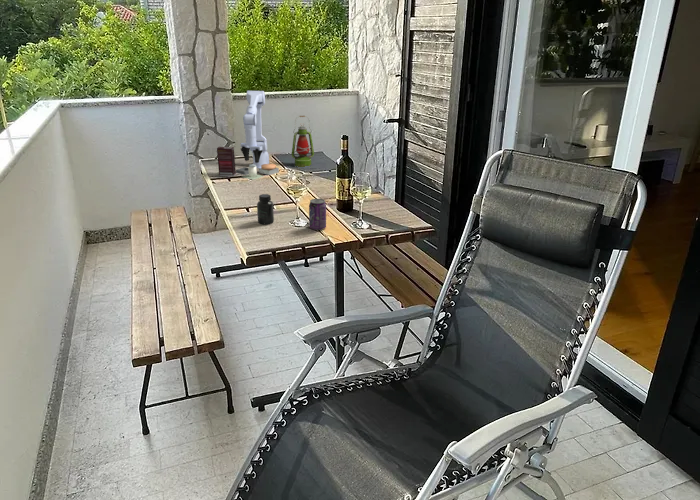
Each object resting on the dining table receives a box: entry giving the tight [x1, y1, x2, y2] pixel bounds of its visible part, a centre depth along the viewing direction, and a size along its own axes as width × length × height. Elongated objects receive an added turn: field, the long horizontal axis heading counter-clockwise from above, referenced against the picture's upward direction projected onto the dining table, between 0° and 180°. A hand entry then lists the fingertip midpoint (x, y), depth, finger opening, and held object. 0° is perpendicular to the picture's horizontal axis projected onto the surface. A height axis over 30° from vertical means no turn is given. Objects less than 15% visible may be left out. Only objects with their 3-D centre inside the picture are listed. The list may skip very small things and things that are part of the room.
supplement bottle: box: [256, 193, 275, 226], centre depth 226 cm, size 7×7×12 cm
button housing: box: [258, 167, 280, 176], centre depth 304 cm, size 8×8×3 cm
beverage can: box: [308, 198, 327, 231], centre depth 221 cm, size 7×7×12 cm
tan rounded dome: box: [261, 163, 277, 169], centre depth 303 cm, size 8×8×4 cm
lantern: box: [291, 115, 315, 167], centre depth 316 cm, size 14×11×30 cm
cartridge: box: [247, 163, 258, 177], centre depth 294 cm, size 4×4×6 cm
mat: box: [241, 174, 265, 181], centre depth 296 cm, size 9×9×1 cm
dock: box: [236, 167, 259, 176], centre depth 305 cm, size 10×10×2 cm
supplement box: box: [216, 146, 237, 177], centre depth 295 cm, size 9×5×16 cm, turn 84°
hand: (252, 161), depth 292 cm, fingers open, 7 cm apart
